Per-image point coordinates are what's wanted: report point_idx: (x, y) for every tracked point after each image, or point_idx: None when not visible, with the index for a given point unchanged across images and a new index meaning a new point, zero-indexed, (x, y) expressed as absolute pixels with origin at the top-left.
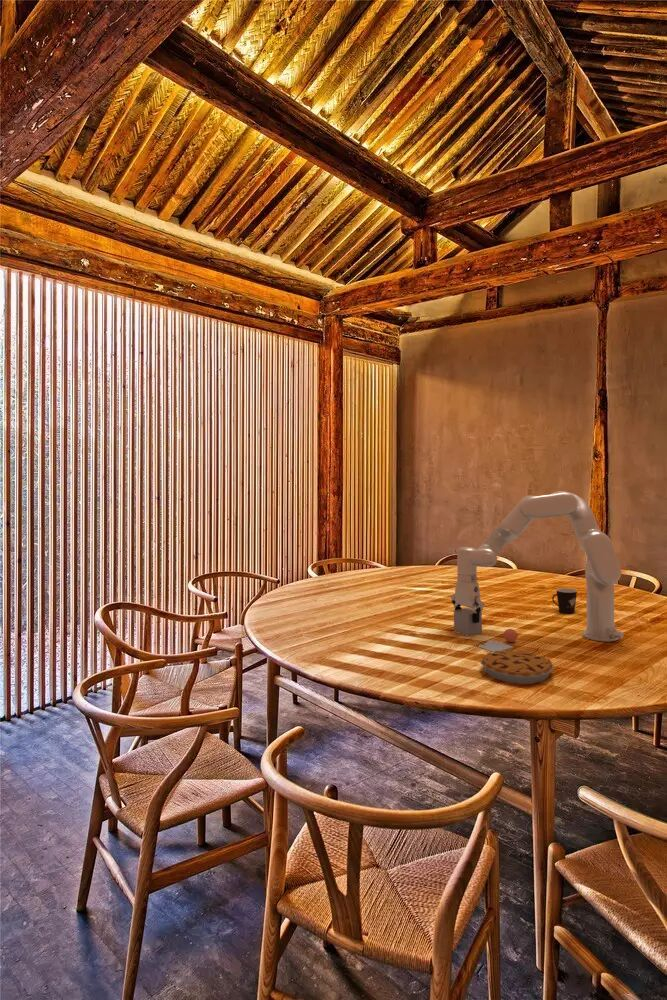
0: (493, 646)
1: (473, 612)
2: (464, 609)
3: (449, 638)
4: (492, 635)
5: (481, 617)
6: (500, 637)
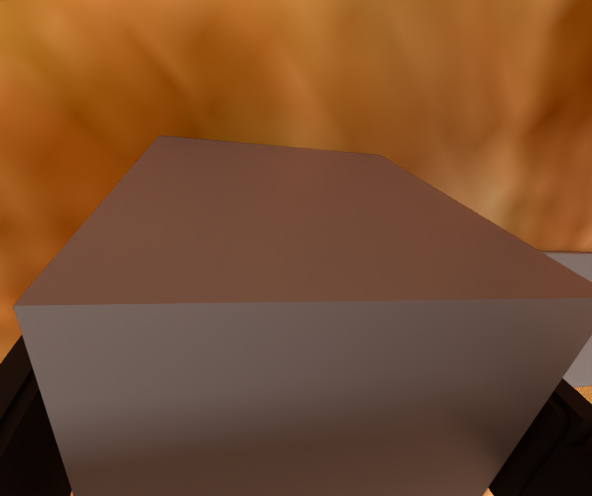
0: None
1: (476, 453)
2: (169, 470)
3: None
4: (494, 135)
5: (500, 234)
6: (574, 130)
